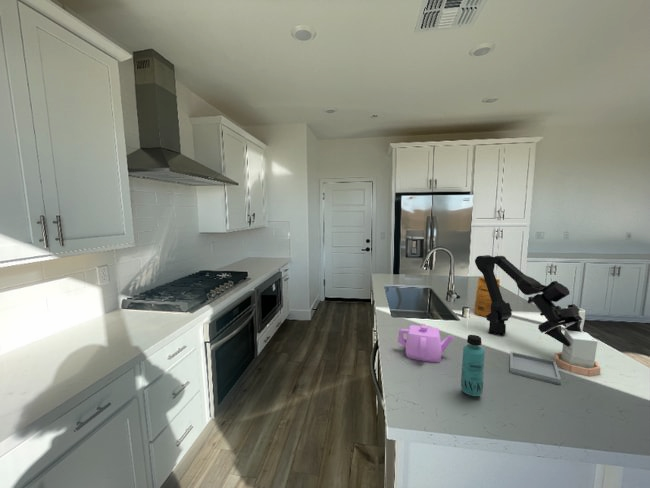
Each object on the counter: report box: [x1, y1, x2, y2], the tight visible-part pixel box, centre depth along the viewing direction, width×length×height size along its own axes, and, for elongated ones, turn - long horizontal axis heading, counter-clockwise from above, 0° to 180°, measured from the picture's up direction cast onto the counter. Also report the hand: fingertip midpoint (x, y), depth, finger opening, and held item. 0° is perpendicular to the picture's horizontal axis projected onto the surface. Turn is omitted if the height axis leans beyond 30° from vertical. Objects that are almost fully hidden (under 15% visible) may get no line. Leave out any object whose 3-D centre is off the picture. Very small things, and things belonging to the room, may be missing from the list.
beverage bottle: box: [460, 334, 486, 397], centre depth 92 cm, size 6×7×20 cm
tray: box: [509, 351, 562, 386], centre depth 108 cm, size 15×15×2 cm
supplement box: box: [560, 329, 598, 368], centre depth 108 cm, size 7×7×13 cm
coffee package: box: [473, 276, 500, 318], centre depth 164 cm, size 10×12×22 cm
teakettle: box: [397, 323, 454, 363], centre depth 120 cm, size 17×17×12 cm
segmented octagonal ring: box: [553, 351, 601, 377], centre depth 109 cm, size 13×13×2 cm
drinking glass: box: [564, 306, 586, 332], centre depth 130 cm, size 7×7×15 cm
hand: (576, 343), depth 109 cm, fingers open, 9 cm apart
